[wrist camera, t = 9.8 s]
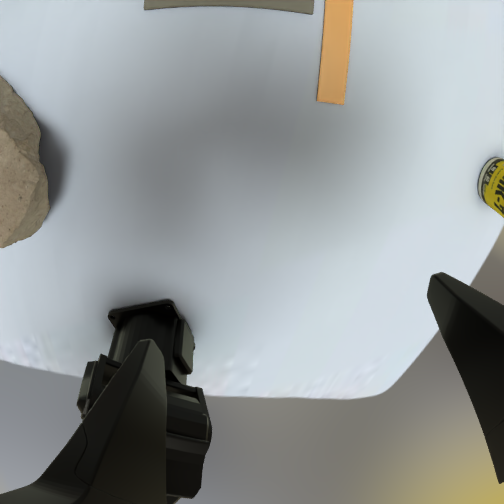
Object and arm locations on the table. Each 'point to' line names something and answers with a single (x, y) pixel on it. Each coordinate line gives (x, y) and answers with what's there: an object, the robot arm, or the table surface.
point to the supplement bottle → (493, 185)
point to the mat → (236, 4)
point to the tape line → (335, 51)
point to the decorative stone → (20, 170)
